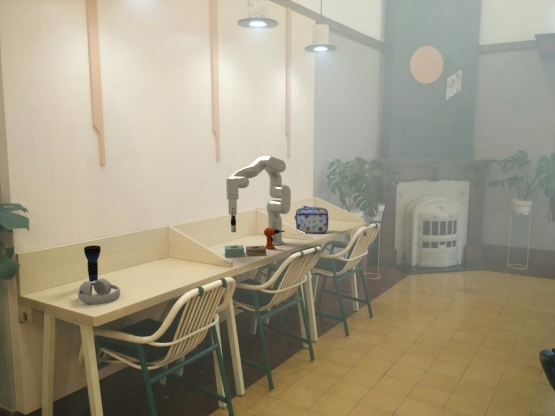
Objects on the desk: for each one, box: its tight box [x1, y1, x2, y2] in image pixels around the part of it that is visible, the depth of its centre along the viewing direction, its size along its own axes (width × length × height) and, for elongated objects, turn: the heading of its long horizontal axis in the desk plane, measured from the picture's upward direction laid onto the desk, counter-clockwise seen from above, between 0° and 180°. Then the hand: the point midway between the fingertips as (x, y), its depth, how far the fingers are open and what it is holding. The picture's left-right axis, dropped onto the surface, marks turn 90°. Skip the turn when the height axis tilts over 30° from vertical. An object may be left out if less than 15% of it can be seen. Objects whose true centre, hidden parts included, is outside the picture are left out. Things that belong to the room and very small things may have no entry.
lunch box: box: [293, 205, 329, 234], centre depth 400 cm, size 28×10×22 cm, turn 82°
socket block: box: [245, 245, 267, 257], centre depth 326 cm, size 12×12×4 cm
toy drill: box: [263, 227, 286, 251], centre depth 338 cm, size 5×19×15 cm, turn 49°
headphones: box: [77, 277, 121, 305], centre depth 233 cm, size 18×8×20 cm
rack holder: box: [224, 244, 245, 258], centre depth 324 cm, size 12×12×5 cm
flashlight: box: [83, 245, 102, 286], centre depth 256 cm, size 8×8×20 cm
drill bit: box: [230, 225, 237, 233], centre depth 322 cm, size 3×3×10 cm
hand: (233, 224), depth 322 cm, fingers closed on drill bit, 3 cm apart
